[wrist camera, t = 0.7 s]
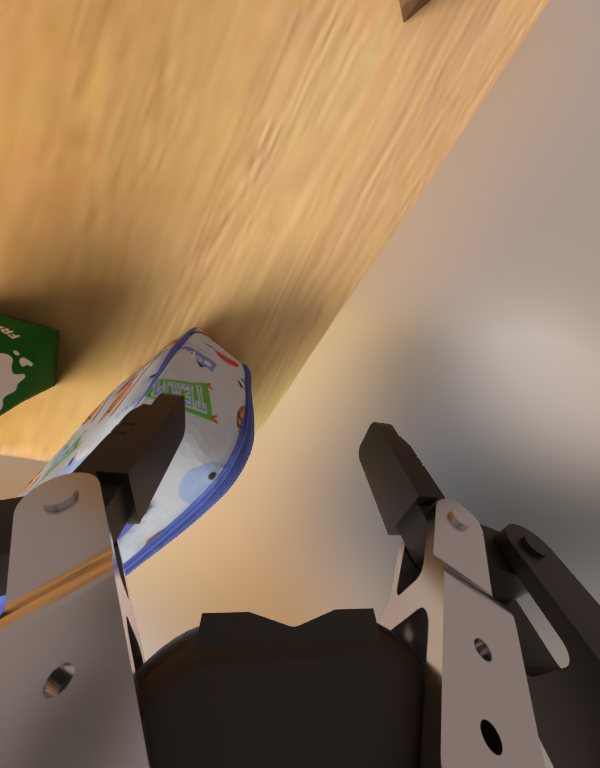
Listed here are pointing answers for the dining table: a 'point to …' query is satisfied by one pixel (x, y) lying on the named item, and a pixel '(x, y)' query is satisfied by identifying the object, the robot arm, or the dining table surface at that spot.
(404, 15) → the block
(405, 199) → the dining table surface
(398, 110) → the dining table surface
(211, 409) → the lunch box
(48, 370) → the milk carton
